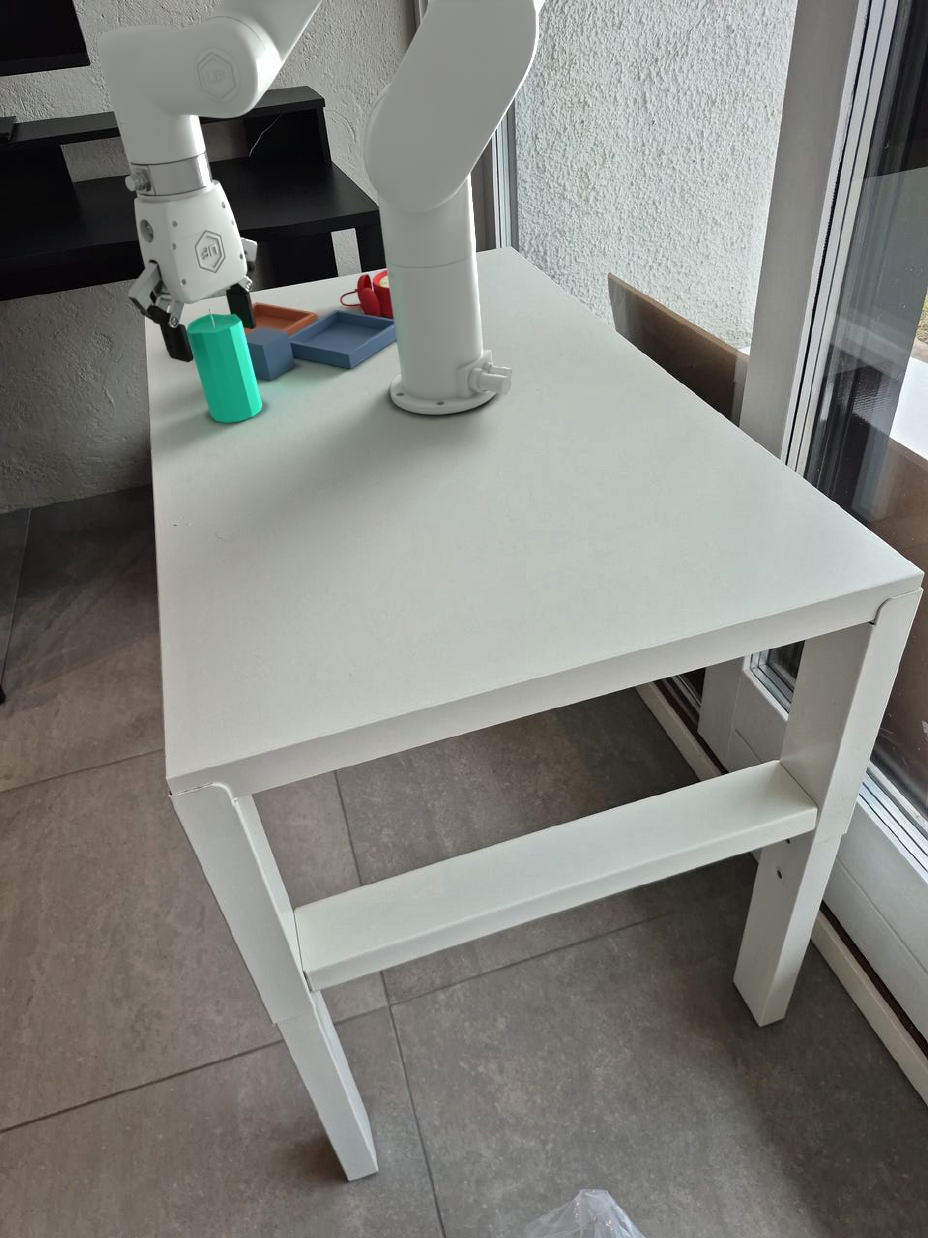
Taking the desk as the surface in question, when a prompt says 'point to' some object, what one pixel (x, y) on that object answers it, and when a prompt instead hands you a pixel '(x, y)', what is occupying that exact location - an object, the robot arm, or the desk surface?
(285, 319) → the terracotta tray
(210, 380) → the candle
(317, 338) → the blue tray
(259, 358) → the blue block
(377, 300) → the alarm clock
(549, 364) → the desk surface
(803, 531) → the desk surface
